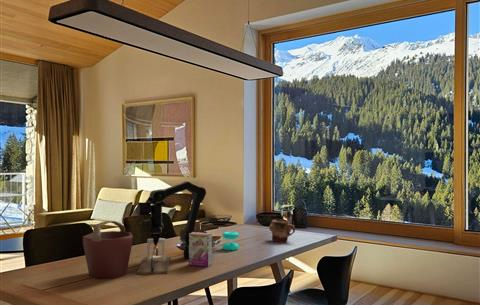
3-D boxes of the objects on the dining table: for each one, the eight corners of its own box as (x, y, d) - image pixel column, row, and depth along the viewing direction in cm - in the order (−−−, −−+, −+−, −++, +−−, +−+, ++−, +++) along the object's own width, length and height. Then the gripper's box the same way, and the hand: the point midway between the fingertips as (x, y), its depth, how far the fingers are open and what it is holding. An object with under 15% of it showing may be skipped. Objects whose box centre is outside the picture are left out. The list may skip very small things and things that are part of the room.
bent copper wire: (158, 257, 238) (158, 241, 238) (153, 271, 209) (153, 253, 209) (155, 257, 238) (155, 241, 238) (150, 271, 209) (151, 253, 209)
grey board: (170, 258, 240) (170, 256, 240) (167, 273, 209) (167, 271, 209) (144, 259, 239) (144, 256, 239) (137, 274, 208) (137, 271, 208)
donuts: (221, 233, 261) (223, 231, 271) (221, 250, 261) (223, 247, 271) (237, 234, 260) (239, 231, 270) (237, 251, 260) (239, 247, 270)
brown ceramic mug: (299, 241, 290) (299, 220, 290) (291, 244, 280) (291, 222, 280) (273, 238, 301) (273, 218, 301) (264, 241, 291) (264, 220, 291)
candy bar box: (188, 265, 225) (188, 233, 225) (192, 263, 230) (192, 231, 230) (208, 267, 221) (208, 234, 222) (212, 265, 226) (212, 233, 226)
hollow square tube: (165, 258, 235) (165, 238, 235) (164, 260, 230) (164, 239, 230) (148, 258, 234) (148, 238, 234) (147, 261, 229) (147, 240, 229)
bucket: (102, 284, 192) (103, 226, 192) (70, 276, 203) (70, 222, 204) (142, 271, 212) (143, 220, 213) (111, 265, 224) (111, 216, 224)
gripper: (142, 212, 241) (142, 240, 241) (138, 217, 222) (138, 247, 222) (163, 212, 242) (163, 240, 242) (161, 216, 223) (160, 247, 223)
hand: (156, 243), depth 232 cm, fingers open, 9 cm apart
